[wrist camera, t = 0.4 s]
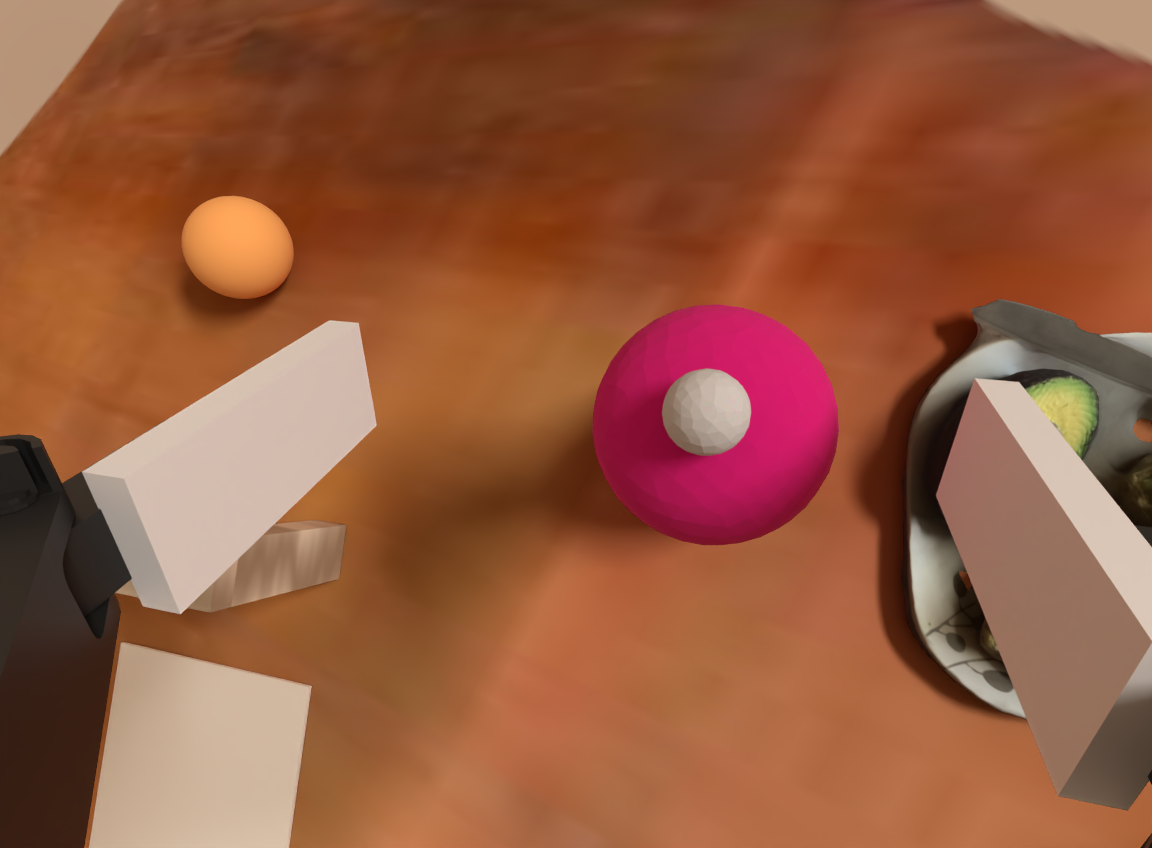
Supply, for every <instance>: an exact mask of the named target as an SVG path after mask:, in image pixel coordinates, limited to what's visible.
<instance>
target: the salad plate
mask: <svg viewBox="0 0 1152 848" xmlns="http://www.w3.org/2000/svg"><path fill="white" fill-rule="evenodd" d="M971 310H972V314H973V317H974V322H975V323H976V324H977V327H978V333H977V336H976V337H975V339H974V341H973V342H972V344H971V345H970V346H969V347H968V349H967V350H966V351H965V352H964V353H963V354H961V355H960V356H959V357H958V358H957V359H955V361H954V362H953V363H951V364H950V365H949V366H948V367H947V368H946V369H945V370H944V371H943V372H941V373H940V374H939V375H938V376H937V378H936V379H935V380H934V382H933V383H932V384H931V385H930V386H929V387H928V388H927V390H926V393H925V395H924V396H923V397H922V398H921V400H920V401H919V403H918V405H917V408H916V410H915V413H914V415H913V418H912V423H911V427H910V432H909V436H908V442H907V461H906V467H905V472H904V477H903V482H902V486H903V495H904V537H903V567H902V584H903V590H904V596H905V607H906V615H907V620H908V624H909V627H910V629H911V631H912V633H913V635H914V637H915V638H916V639H917V641H918V642H919V644H920V645H921V646H922V648H923V649H924V651H925V652H926V654H927V655H928V656H929V657H930V658H932V659H933V660H934V661H935V662H936V663H937V664H938V665H939V666H940V667H941V668H942V669H943V670H944V671H945V672H946V673H947V674H948V675H949V676H950V677H951V678H952V679H953V680H954V681H956V682H957V683H958V684H959V685H961V686H962V687H963V688H965V689H966V690H967V691H969V692H970V693H972V694H973V695H974V696H975V697H977V698H978V699H979V700H981V701H983V702H985V703H986V704H988V705H990V706H992V707H993V708H995V709H997V710H999V711H1001V712H1004V713H1008V714H1011V715H1015V716H1018V717H1021V718H1023V719H1026V716H1025V714H1024V711H1023V709H1022V706H1021V704H1020V701H1019V699H1018V696H1017V694H1016V692H1015V689H1014V687H1013V684H1012V682H1011V679H1010V677H1009V674H1008V672H1007V669H1006V667H1005V664H1004V662H1003V660H1002V657H1001V655H1000V652H999V650H998V647H997V645H996V642H995V640H994V637H993V635H992V632H991V630H990V627H989V625H988V623H987V620H986V618H985V615H984V613H983V610H982V608H981V605H980V603H979V600H978V598H977V595H976V593H975V591H974V588H973V586H972V585H971V588H970V589H969V590H967V589H966V587H965V585H964V583H963V581H962V579H961V577H960V575H959V571H963V572H967V571H966V568H965V566H964V563H963V561H962V558H961V556H960V554H959V551H958V549H957V546H956V544H955V541H954V539H953V536H952V534H951V531H950V529H949V526H948V524H947V522H946V519H945V517H944V514H943V512H942V509H941V507H940V504H939V502H938V499H937V497H936V494H937V491H938V488H939V485H940V482H941V479H942V476H943V473H944V469H945V466H946V463H947V460H948V457H949V454H950V451H951V448H952V445H953V442H954V439H955V436H956V433H957V430H958V427H959V424H960V421H961V418H962V415H963V412H964V409H965V406H966V403H967V400H968V396H969V393H970V390H971V387H972V384H973V381H974V378H978V379H990V380H1001V381H1012V382H1019V383H1020V384H1021V385H1022V386H1023V388H1024V389H1025V390H1026V391H1027V393H1028V394H1029V395H1030V396H1031V398H1032V399H1033V400H1034V401H1035V403H1036V404H1037V405H1038V406H1039V408H1040V409H1041V410H1042V411H1043V413H1044V414H1045V415H1046V416H1047V418H1048V419H1049V420H1050V421H1051V423H1052V424H1053V425H1054V426H1055V428H1056V429H1057V430H1058V431H1059V433H1060V434H1061V435H1062V436H1063V437H1064V439H1065V440H1066V441H1067V442H1068V444H1069V445H1070V446H1071V447H1072V449H1073V450H1074V451H1075V452H1076V454H1077V455H1078V456H1079V457H1080V459H1081V460H1082V461H1083V462H1084V464H1085V465H1086V466H1087V467H1088V469H1089V470H1090V471H1091V472H1092V474H1093V475H1094V476H1095V477H1096V479H1097V480H1098V481H1099V482H1100V484H1101V485H1102V486H1103V487H1104V488H1105V490H1106V491H1107V492H1108V493H1109V495H1110V496H1111V497H1112V498H1113V500H1114V501H1115V502H1116V503H1117V505H1118V506H1119V507H1120V508H1121V510H1122V511H1123V512H1124V513H1125V515H1126V516H1127V517H1128V518H1129V520H1130V521H1131V522H1132V523H1133V525H1137V526H1145V527H1152V442H1144V441H1142V440H1140V439H1138V438H1137V437H1136V435H1135V434H1134V432H1133V427H1134V424H1135V422H1136V421H1137V420H1138V419H1147V420H1150V421H1151V422H1152V333H1121V334H1104V335H1099V334H1094V333H1089V332H1086V331H1084V330H1081V329H1080V328H1078V327H1077V325H1076V323H1075V322H1074V321H1073V320H1070V319H1067V318H1064V317H1062V316H1059V315H1057V314H1054V313H1051V312H1048V311H1045V310H1042V309H1039V308H1035V307H1032V306H1029V305H1025V304H1020V303H1017V302H1012V301H1007V300H1001V299H1000V300H996V301H995V302H991V303H989V304H987V305H985V306H979V307H976V308H971ZM1026 720H1027V719H1026Z"/></svg>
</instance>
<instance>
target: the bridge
mask: <svg viewBox="0 0 1152 848" xmlns="http://www.w3.org/2000/svg"><path fill="white" fill-rule="evenodd" d="M346 526H347V525H344V524H338V523H332V522H326V521H319V520H309V521H299V522H290V523H280V524H274V525H273V526H272V527H271V528H270V529H269V530H268V531H267V532H266V533H264V534H263V535H262V536H261V537H260V538H259V539H258V540H257V541H256V542H255V543H254V544H253V545H252V546H251V547H250V548H249V549H248V550H247V551H246V552H245V553H244V554H243V555H242V556H241V557H240V558H238V559H237V560H236V561H235V562H234V563H233V564H232V565H231V566H230V567H229V568H228V569H227V570H226V571H225V572H224V573H223V574H222V575H221V576H220V577H219V578H218V579H217V580H216V581H215V582H214V583H213V584H211V585H210V586H209V587H208V588H207V589H206V590H205V591H204V592H203V593H202V594H201V595H200V596H199V597H198V598H197V599H196V600H195V601H194V602H193V603H192V604H191V605H190V606H189V607H188V608H190V609H195V610H199V611H204V612H209V613H210V612H214V611H218V610H222V609H226V608H229V607H233V606H237V605H241V604H245V603H249V602H252V601H256V600H260V599H264V598H268V597H272V596H275V595H279V594H283V593H287V592H291V591H295V590H299V589H302V588H306V587H310V586H314V585H318V584H322V583H325V582H329V581H333V580H337V579H339V575H340V568H341V561H342V554H343V547H344V540H345V533H346ZM115 593H119V594H124V595H129V596H133V597H138V595H137V592H136V590H135V588H134V586H133V584H132V581H131V580H130V581H129V582H127V583H126V584H125V585H124V586H123V587H121V588H120V589H119V590H118V591H117V592H115ZM138 598H139V597H138Z"/></svg>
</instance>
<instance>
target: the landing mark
mask: <svg viewBox="0 0 1152 848" xmlns="http://www.w3.org/2000/svg"><path fill="white" fill-rule="evenodd" d="M311 688H312V686H311V685H307V684H302V683H298V682H294V681H290V680H285V679H281V678H277V677H272V676H268V675H264V674H260V673H255V672H251V671H247V670H243V669H238V668H234V667H230V666H225V665H221V664H217V663H213V662H208V661H204V660H200V659H195V658H191V657H187V656H183V655H178V654H174V653H170V652H165V651H161V650H157V649H153V648H148V647H144V646H140V645H136V644H131V643H127V642H122V643H121V646H120V652H119V659H118V665H117V672H116V678H115V684H114V691H113V697H112V703H111V710H110V716H109V723H108V729H107V735H106V742H105V748H104V754H103V761H102V767H101V774H100V780H99V786H98V793H97V799H96V805H95V812H94V818H93V825H92V831H91V837H90V844H89V848H289V844H290V837H291V829H292V822H293V815H294V808H295V801H296V794H297V787H298V780H299V773H300V766H301V759H302V752H303V744H304V737H305V730H306V723H307V716H308V709H309V702H310V695H311Z"/></svg>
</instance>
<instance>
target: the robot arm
mask: <svg viewBox="0 0 1152 848" xmlns="http://www.w3.org/2000/svg"><path fill="white" fill-rule="evenodd" d="M376 426H377V424H376V419H375V413H374V407H373V402H372V396H371V391H370V385H369V379H368V374H367V368H366V363H365V357H364V351H363V346H362V340H361V335H360V329H359V323H352V322H341V321H330V320H329V321H328V322H326V323H324V324H323V325H321V326H319V327H318V328H316V329H315V330H313V331H311V332H310V333H308V334H306V335H305V336H303V337H301V338H300V339H298V340H297V341H295V342H293V343H292V344H290V345H288V346H287V347H285V348H283V349H282V350H280V351H279V352H277V353H275V354H274V355H272V356H270V357H269V358H267V359H265V360H264V361H262V362H261V363H259V364H257V365H256V366H254V367H252V368H251V369H249V370H248V371H246V372H244V373H243V374H241V375H239V376H238V377H236V378H234V379H233V380H231V381H230V382H228V383H226V384H225V385H223V386H221V387H220V388H218V389H216V390H215V391H213V392H212V393H210V394H208V395H207V396H205V397H203V398H202V399H200V400H198V401H197V402H195V403H194V404H192V405H190V406H189V407H187V408H185V409H184V410H182V411H180V412H179V413H177V414H176V415H174V416H172V417H171V418H169V419H167V420H165V421H163V422H162V423H160V424H159V425H157V426H155V427H154V428H152V429H150V430H149V431H147V432H145V434H143V435H141V436H139V437H137V438H136V439H134V440H132V441H131V442H129V443H127V445H125V446H123V447H121V448H119V449H118V450H116V451H114V452H113V453H111V454H109V455H108V456H106V457H105V458H103V459H101V460H100V461H98V462H96V463H95V464H93V465H91V466H90V467H88V468H87V469H85V470H83V471H82V472H80V473H78V474H77V475H75V476H73V477H72V478H70V479H68V480H67V481H65V482H64V483H61V481H60V479H59V477H58V474H57V472H56V470H55V468H54V466H53V464H52V462H51V460H50V458H49V456H48V453H47V451H46V449H45V447H44V445H43V443H42V441H41V439H39V438H37V437H35V436H32V435H10V436H1V437H0V848H84V846H85V839H86V833H87V826H88V820H89V813H90V807H91V800H92V794H93V788H94V781H95V775H96V768H97V762H98V755H99V749H100V742H101V736H102V729H103V723H104V716H105V710H106V703H107V697H108V691H109V684H110V678H111V671H112V665H113V658H114V652H115V645H116V639H117V632H118V626H119V619H120V613H121V610H120V606H119V602H118V600H117V598H116V596H115V594H114V593H115V592H117V591H118V590H119V589H120V588H121V587H123V586H124V585H125V584H126V583H127V582H129V581H130V580H131V581H132V584H133V586H134V588H135V590H136V592H137V595H138V597H139V599H140V601H141V603H142V606H143V607H148V608H153V609H158V610H163V611H167V612H172V613H177V614H181V613H182V612H183V611H184V610H186V609H187V608H188V607H189V606H190V605H191V604H192V603H193V602H194V601H195V600H196V599H197V598H198V597H199V596H200V595H201V594H202V593H203V592H204V591H205V590H206V589H207V588H208V587H209V586H210V585H211V584H213V583H214V582H215V581H216V580H217V579H218V578H219V577H220V576H221V575H222V574H223V573H224V572H225V571H226V570H227V569H228V568H229V567H230V566H231V565H232V564H233V563H234V562H235V561H236V560H237V559H238V558H240V557H241V556H242V555H243V554H244V553H245V552H246V551H247V550H248V549H249V548H250V547H251V546H252V545H253V544H254V543H255V542H256V541H257V540H258V539H259V538H260V537H261V536H262V535H263V534H264V533H266V532H267V531H268V530H269V529H270V528H271V527H272V526H273V525H274V524H275V523H276V522H277V521H278V520H279V519H280V518H281V517H282V516H283V515H284V514H285V513H286V512H287V511H288V510H289V509H290V508H291V507H293V506H294V505H295V504H296V503H297V502H298V501H299V500H300V499H301V498H302V497H303V496H304V495H305V494H306V493H307V492H308V491H309V490H310V489H311V488H312V487H313V486H314V485H315V484H316V483H317V482H318V481H320V480H321V479H322V478H323V477H324V476H325V475H326V474H327V473H328V472H329V471H330V470H331V469H332V468H333V467H334V466H335V465H336V464H337V463H338V462H339V461H340V460H341V459H342V458H343V457H344V456H345V455H347V454H348V453H349V452H350V451H351V450H352V449H353V448H354V447H355V446H356V445H357V444H358V443H359V442H360V441H361V440H362V439H363V438H364V437H365V436H366V435H367V434H368V433H369V432H370V431H371V430H372V429H374V428H375V427H376ZM936 497H937V499H938V502H939V504H940V507H941V509H942V512H943V514H944V517H945V519H946V522H947V524H948V526H949V529H950V531H951V534H952V536H953V539H954V541H955V544H956V546H957V549H958V551H959V554H960V556H961V558H962V561H963V563H964V566H965V568H966V571H967V573H968V576H969V578H970V581H971V583H972V586H973V588H974V591H975V593H976V595H977V598H978V600H979V603H980V605H981V608H982V610H983V613H984V615H985V618H986V620H987V623H988V625H989V627H990V630H991V632H992V635H993V637H994V640H995V642H996V645H997V647H998V650H999V652H1000V655H1001V657H1002V660H1003V662H1004V664H1005V667H1006V669H1007V672H1008V674H1009V677H1010V679H1011V682H1012V684H1013V687H1014V689H1015V692H1016V694H1017V696H1018V699H1019V701H1020V704H1021V706H1022V709H1023V711H1024V714H1025V716H1026V719H1027V721H1028V724H1029V726H1030V729H1031V731H1032V733H1033V736H1034V738H1035V741H1036V743H1037V746H1038V748H1039V751H1040V753H1041V756H1042V758H1043V761H1044V763H1045V765H1046V768H1047V770H1048V773H1049V775H1050V778H1051V780H1052V783H1053V785H1054V788H1055V790H1056V793H1057V795H1058V796H1060V797H1065V798H1070V799H1075V800H1079V801H1084V802H1089V803H1094V804H1099V805H1104V806H1108V807H1113V808H1118V809H1123V810H1128V809H1129V808H1130V807H1131V805H1132V804H1133V802H1134V801H1135V800H1136V798H1137V797H1138V795H1139V794H1140V793H1141V791H1142V790H1143V788H1144V787H1145V786H1146V784H1147V783H1148V781H1149V780H1150V782H1151V784H1152V527H1145V526H1137V525H1133V523H1132V522H1131V521H1130V520H1129V518H1128V517H1127V516H1126V515H1125V513H1124V512H1123V511H1122V510H1121V508H1120V507H1119V506H1118V505H1117V503H1116V502H1115V501H1114V500H1113V498H1112V497H1111V496H1110V495H1109V493H1108V492H1107V491H1106V490H1105V488H1104V487H1103V486H1102V485H1101V484H1100V482H1099V481H1098V480H1097V479H1096V477H1095V476H1094V475H1093V474H1092V472H1091V471H1090V470H1089V469H1088V467H1087V466H1086V465H1085V464H1084V462H1083V461H1082V460H1081V459H1080V457H1079V456H1078V455H1077V454H1076V452H1075V451H1074V450H1073V449H1072V447H1071V446H1070V445H1069V444H1068V442H1067V441H1066V440H1065V439H1064V437H1063V436H1062V435H1061V434H1060V433H1059V431H1058V430H1057V429H1056V428H1055V426H1054V425H1053V424H1052V423H1051V421H1050V420H1049V419H1048V418H1047V416H1046V415H1045V414H1044V413H1043V411H1042V410H1041V409H1040V408H1039V406H1038V405H1037V404H1036V403H1035V401H1034V400H1033V399H1032V398H1031V396H1030V395H1029V394H1028V393H1027V391H1026V390H1025V389H1024V388H1023V386H1022V385H1021V384H1020V383H1019V382H1012V381H1001V380H990V379H978V378H974V381H973V384H972V387H971V390H970V393H969V396H968V400H967V403H966V406H965V409H964V412H963V415H962V418H961V421H960V424H959V427H958V430H957V433H956V436H955V439H954V442H953V445H952V448H951V451H950V454H949V457H948V460H947V463H946V466H945V469H944V473H943V476H942V479H941V482H940V485H939V488H938V491H937V494H936ZM1141 848H1152V834H1151V835H1150V836H1149V837H1148V839H1147V840H1146V841H1145V843H1144V844H1143V845H1142V847H1141Z"/></svg>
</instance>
